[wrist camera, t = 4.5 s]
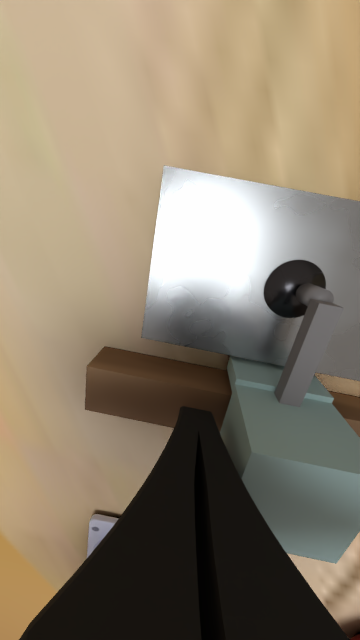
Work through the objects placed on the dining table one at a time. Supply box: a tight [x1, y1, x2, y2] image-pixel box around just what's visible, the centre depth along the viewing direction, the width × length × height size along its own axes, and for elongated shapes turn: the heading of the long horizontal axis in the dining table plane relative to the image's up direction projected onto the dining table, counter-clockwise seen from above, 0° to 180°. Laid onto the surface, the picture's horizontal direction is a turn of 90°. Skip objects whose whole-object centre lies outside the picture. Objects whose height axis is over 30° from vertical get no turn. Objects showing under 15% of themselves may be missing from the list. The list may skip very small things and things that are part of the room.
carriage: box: [220, 283, 360, 563], centre depth 9 cm, size 9×4×5 cm, turn 170°
